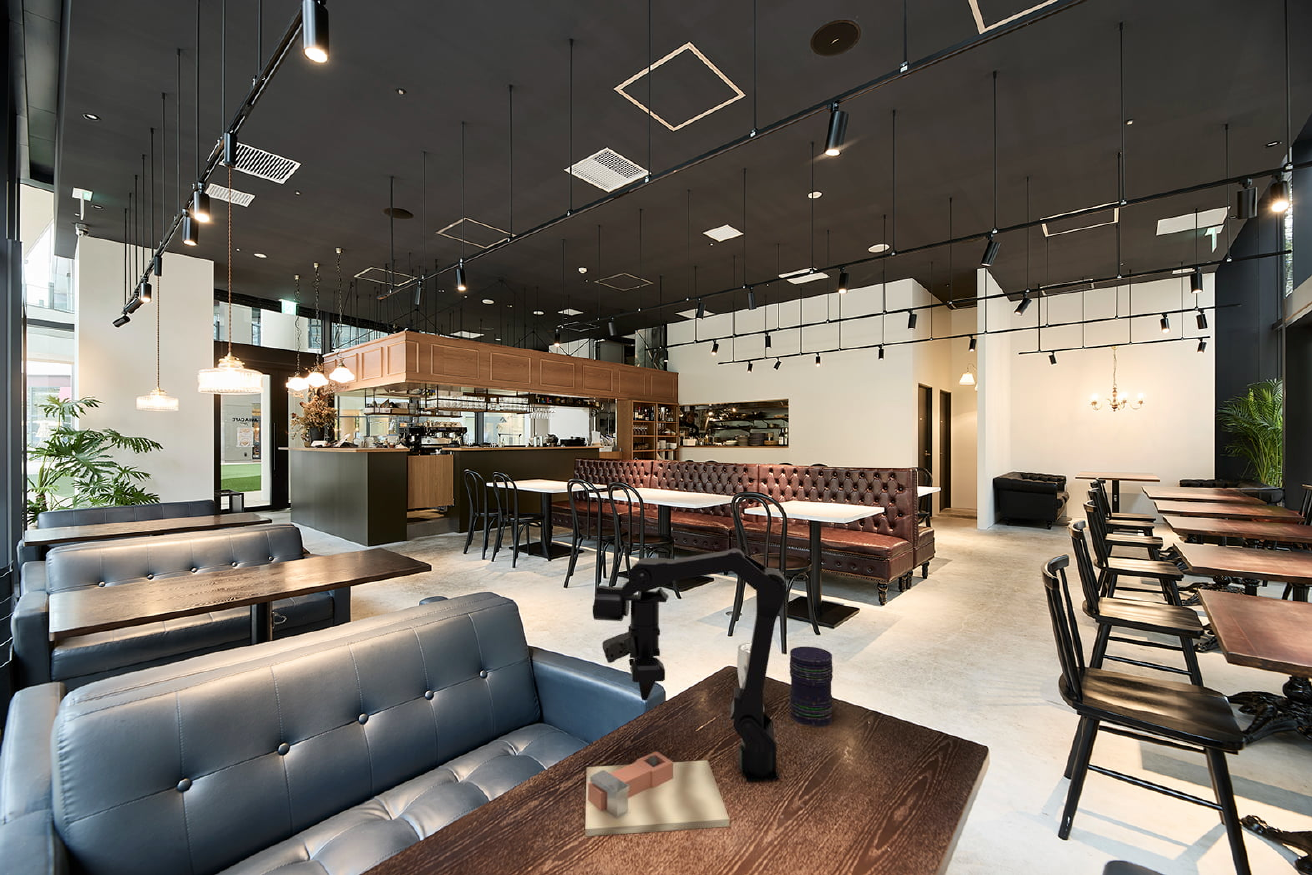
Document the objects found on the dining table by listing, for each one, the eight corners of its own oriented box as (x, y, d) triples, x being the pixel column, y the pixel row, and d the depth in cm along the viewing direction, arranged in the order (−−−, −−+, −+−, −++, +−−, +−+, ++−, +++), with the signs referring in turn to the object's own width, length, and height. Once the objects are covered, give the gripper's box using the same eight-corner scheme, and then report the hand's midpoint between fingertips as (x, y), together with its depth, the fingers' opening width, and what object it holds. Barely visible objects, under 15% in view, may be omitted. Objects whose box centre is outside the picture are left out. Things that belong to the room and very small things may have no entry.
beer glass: (766, 717, 133) (766, 653, 134) (736, 714, 135) (736, 651, 135) (766, 704, 140) (766, 643, 140) (737, 702, 142) (738, 641, 142)
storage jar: (782, 709, 138) (782, 647, 138) (818, 705, 140) (818, 644, 140) (802, 729, 128) (802, 662, 128) (841, 724, 130) (841, 659, 131)
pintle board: (707, 766, 113) (707, 743, 113) (729, 826, 95) (729, 799, 95) (586, 773, 110) (586, 750, 110) (585, 836, 92) (585, 808, 92)
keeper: (603, 794, 102) (603, 769, 102) (629, 811, 97) (629, 785, 97) (590, 801, 100) (590, 776, 100) (616, 819, 95) (616, 792, 95)
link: (656, 766, 111) (656, 751, 111) (673, 778, 107) (673, 762, 107) (586, 798, 100) (586, 781, 101) (602, 812, 97) (602, 794, 97)
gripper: (604, 609, 123) (603, 682, 123) (605, 638, 105) (605, 723, 105) (654, 608, 125) (654, 679, 124) (665, 636, 106) (665, 720, 106)
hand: (644, 699), depth 115 cm, fingers closed
